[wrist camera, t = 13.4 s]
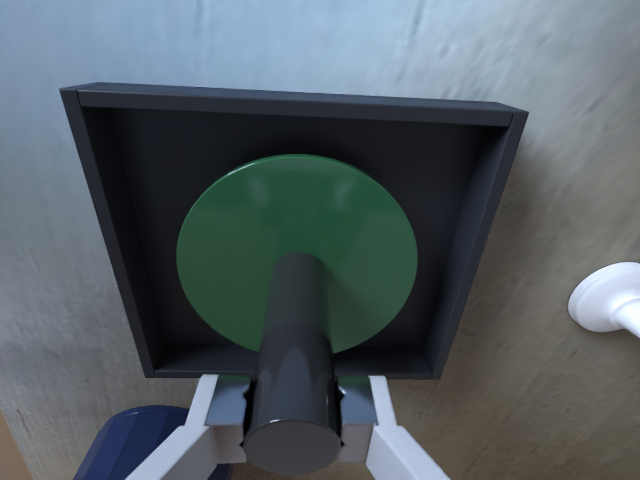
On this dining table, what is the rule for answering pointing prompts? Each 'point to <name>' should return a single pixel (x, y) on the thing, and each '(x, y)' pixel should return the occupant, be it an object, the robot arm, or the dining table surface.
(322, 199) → the lid
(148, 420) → the pot
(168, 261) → the tray
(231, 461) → the robot arm
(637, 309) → the chess piece
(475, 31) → the dining table surface
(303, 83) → the dining table surface
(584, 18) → the dining table surface
